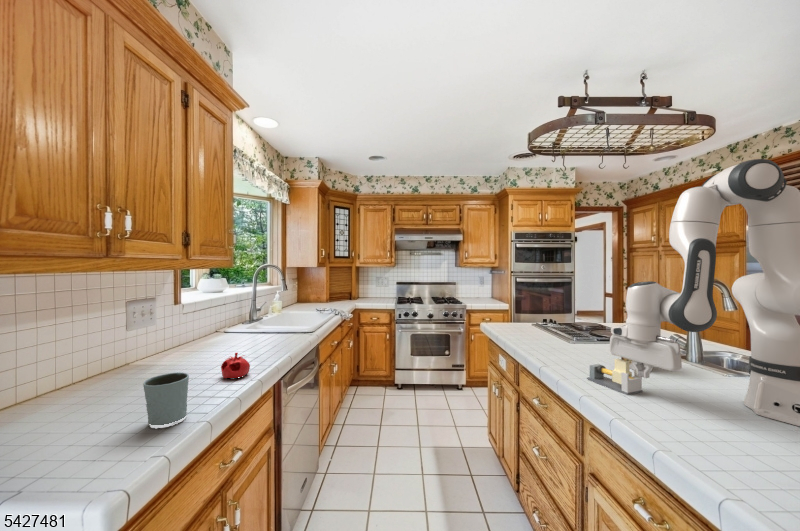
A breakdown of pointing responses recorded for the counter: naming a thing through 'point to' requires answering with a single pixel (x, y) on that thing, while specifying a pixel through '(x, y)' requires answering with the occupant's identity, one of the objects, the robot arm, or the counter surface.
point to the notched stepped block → (620, 370)
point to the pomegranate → (235, 367)
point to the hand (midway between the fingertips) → (642, 376)
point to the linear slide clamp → (627, 386)
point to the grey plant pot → (166, 398)
